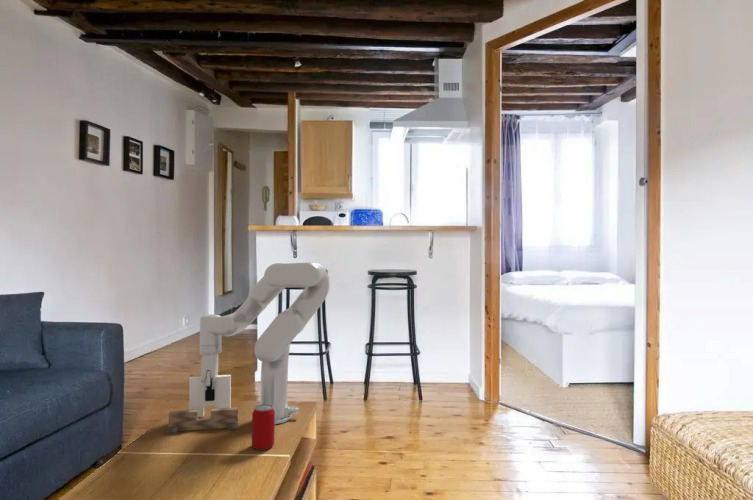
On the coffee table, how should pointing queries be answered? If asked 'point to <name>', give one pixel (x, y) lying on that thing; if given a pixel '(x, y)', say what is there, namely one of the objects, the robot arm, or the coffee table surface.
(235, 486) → the coffee table surface
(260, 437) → the beverage can
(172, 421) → the walnut slotted board
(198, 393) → the pale notched plate
